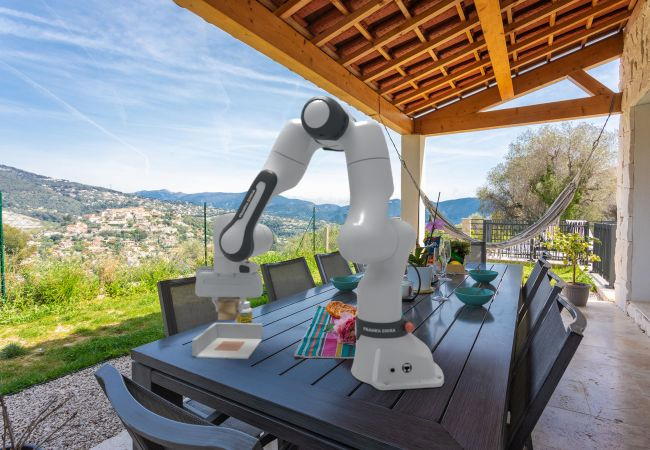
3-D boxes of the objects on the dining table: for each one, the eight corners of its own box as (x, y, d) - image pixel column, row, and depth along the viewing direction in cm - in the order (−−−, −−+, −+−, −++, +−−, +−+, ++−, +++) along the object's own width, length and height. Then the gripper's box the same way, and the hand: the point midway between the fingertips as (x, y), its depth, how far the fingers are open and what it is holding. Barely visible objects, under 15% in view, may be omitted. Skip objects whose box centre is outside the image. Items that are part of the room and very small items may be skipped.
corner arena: (262, 338, 114) (262, 323, 114) (247, 358, 98) (247, 341, 98) (215, 337, 115) (214, 322, 115) (192, 357, 99) (192, 339, 99)
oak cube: (240, 315, 109) (240, 299, 109) (234, 320, 104) (234, 303, 104) (224, 315, 109) (224, 299, 109) (218, 319, 104) (217, 303, 104)
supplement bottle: (249, 326, 127) (248, 299, 127) (254, 330, 123) (254, 302, 123) (234, 328, 124) (234, 301, 124) (239, 332, 120) (239, 305, 120)
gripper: (190, 267, 104) (191, 313, 104) (258, 267, 102) (258, 315, 102) (200, 264, 110) (200, 307, 111) (264, 264, 108) (264, 309, 109)
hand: (229, 311), depth 107 cm, fingers closed on oak cube, 5 cm apart
